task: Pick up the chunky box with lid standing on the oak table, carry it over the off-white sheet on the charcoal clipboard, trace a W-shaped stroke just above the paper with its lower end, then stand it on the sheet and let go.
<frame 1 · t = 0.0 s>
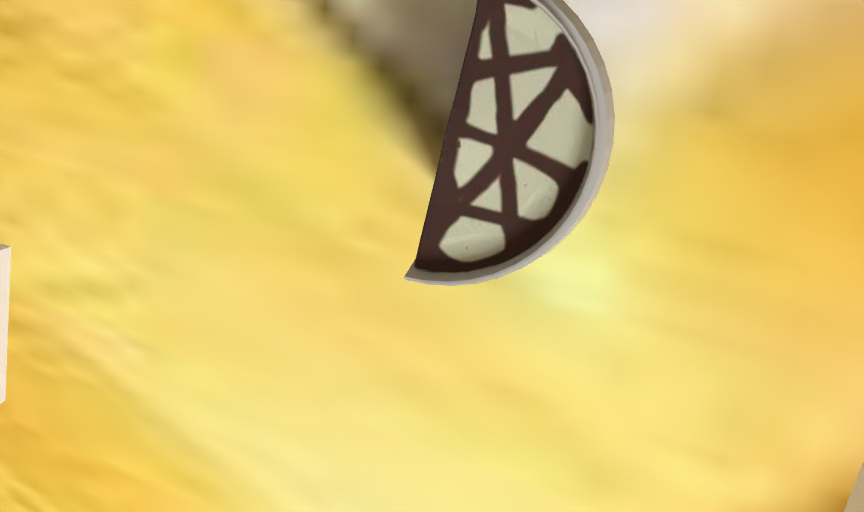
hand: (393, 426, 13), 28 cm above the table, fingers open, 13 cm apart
food container: (540, 124, 39), on the table
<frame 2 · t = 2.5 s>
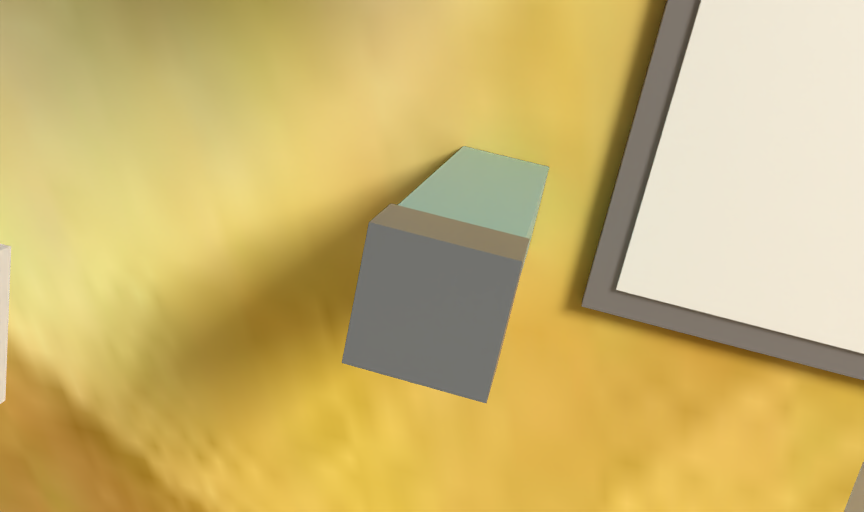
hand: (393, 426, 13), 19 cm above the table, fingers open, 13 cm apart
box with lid: (496, 198, 31), on the table
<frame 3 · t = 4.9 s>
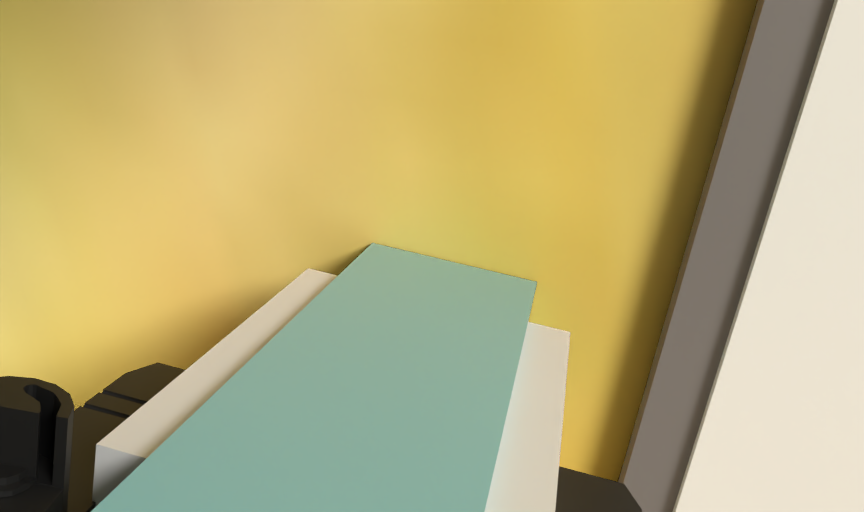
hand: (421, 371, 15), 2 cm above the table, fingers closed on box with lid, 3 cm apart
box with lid: (437, 339, 16), on the table, touching gripper
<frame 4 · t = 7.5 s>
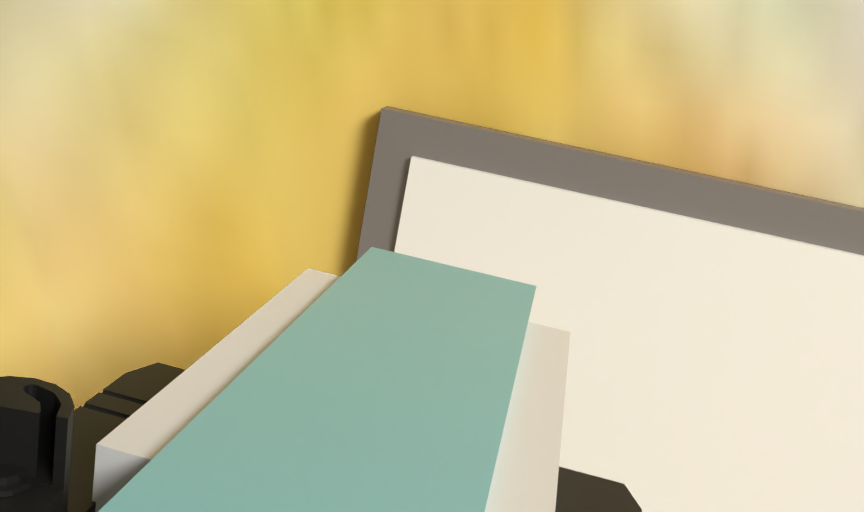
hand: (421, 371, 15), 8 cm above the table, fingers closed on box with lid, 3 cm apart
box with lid: (437, 343, 16), point 6 cm above the table, touching gripper
clipboard: (664, 432, 22), on the table
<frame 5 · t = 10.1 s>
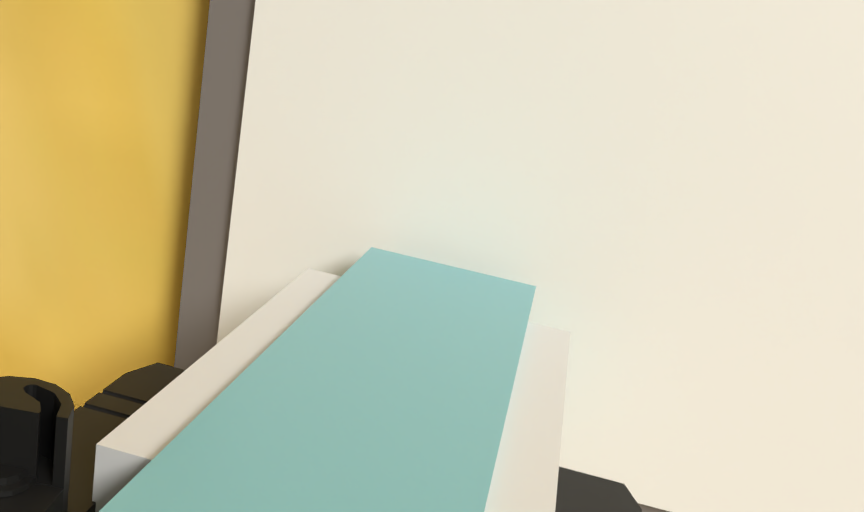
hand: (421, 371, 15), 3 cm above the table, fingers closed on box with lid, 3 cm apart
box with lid: (436, 343, 16), point 1 cm above the table, touching gripper
clipboard: (646, 197, 16), on the table
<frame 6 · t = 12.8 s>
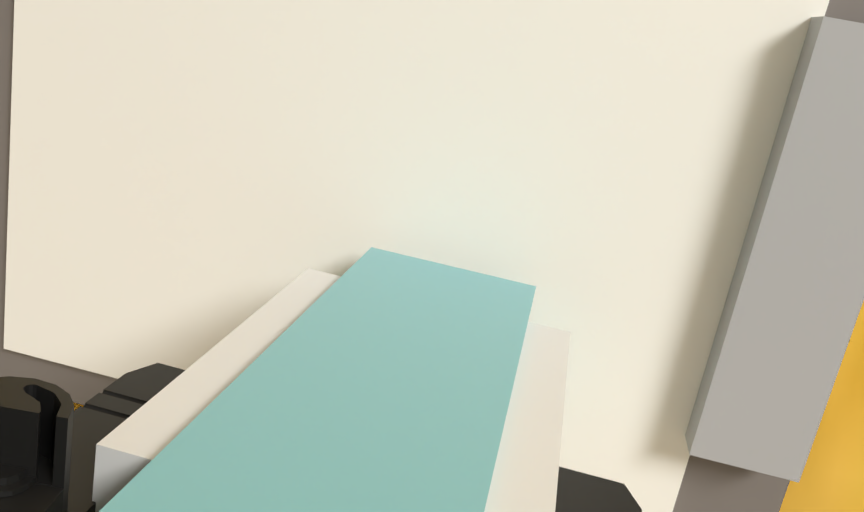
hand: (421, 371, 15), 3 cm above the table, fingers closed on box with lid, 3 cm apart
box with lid: (436, 343, 16), point 1 cm above the table, touching gripper
clipboard: (394, 158, 17), on the table
when the fingers open (3 cm above the table, at t = 15.2 s): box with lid stays where it is, resting on clipboard.
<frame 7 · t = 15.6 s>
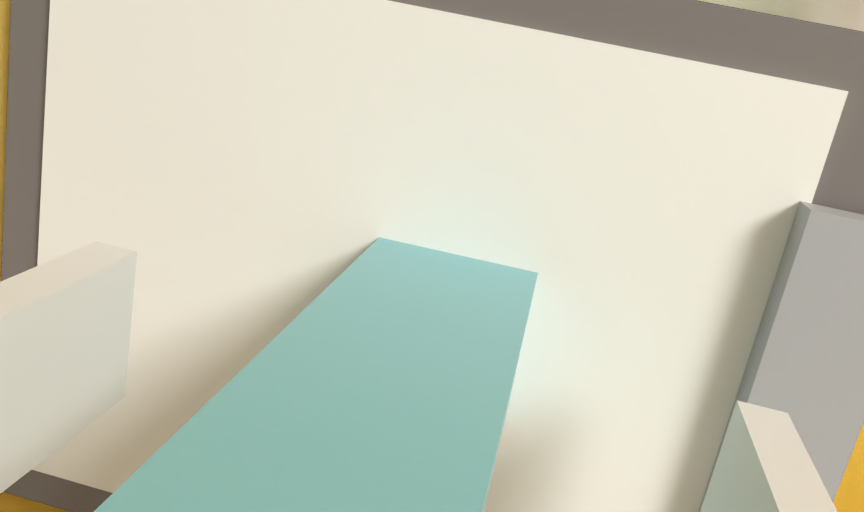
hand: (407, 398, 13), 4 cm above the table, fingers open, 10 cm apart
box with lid: (443, 329, 17), point 1 cm above the table, touching clipboard
clipboard: (404, 303, 18), on the table
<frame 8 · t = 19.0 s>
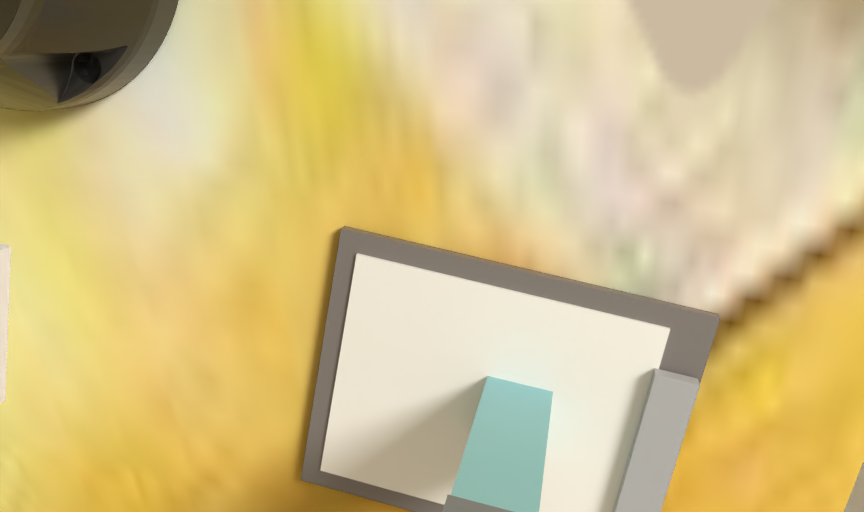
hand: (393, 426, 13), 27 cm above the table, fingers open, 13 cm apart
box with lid: (513, 413, 40), point 1 cm above the table, touching clipboard
clipboard: (495, 400, 41), on the table
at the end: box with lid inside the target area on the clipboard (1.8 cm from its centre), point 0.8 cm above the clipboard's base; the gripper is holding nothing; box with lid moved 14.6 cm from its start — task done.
